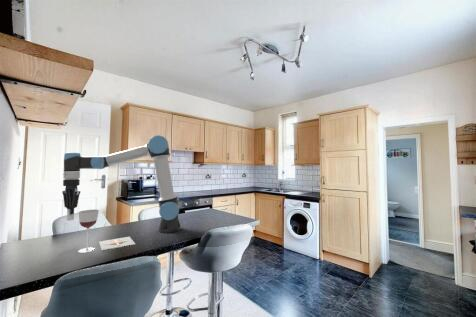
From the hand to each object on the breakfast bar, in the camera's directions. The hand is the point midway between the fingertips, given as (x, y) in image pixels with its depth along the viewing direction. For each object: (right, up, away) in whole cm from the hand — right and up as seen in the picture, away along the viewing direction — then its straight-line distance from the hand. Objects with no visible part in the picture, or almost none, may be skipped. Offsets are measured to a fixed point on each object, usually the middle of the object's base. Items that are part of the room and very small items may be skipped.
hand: (70, 219), depth 122 cm
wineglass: (+18, -12, -12) cm, 25 cm away
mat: (+28, -13, -2) cm, 31 cm away
